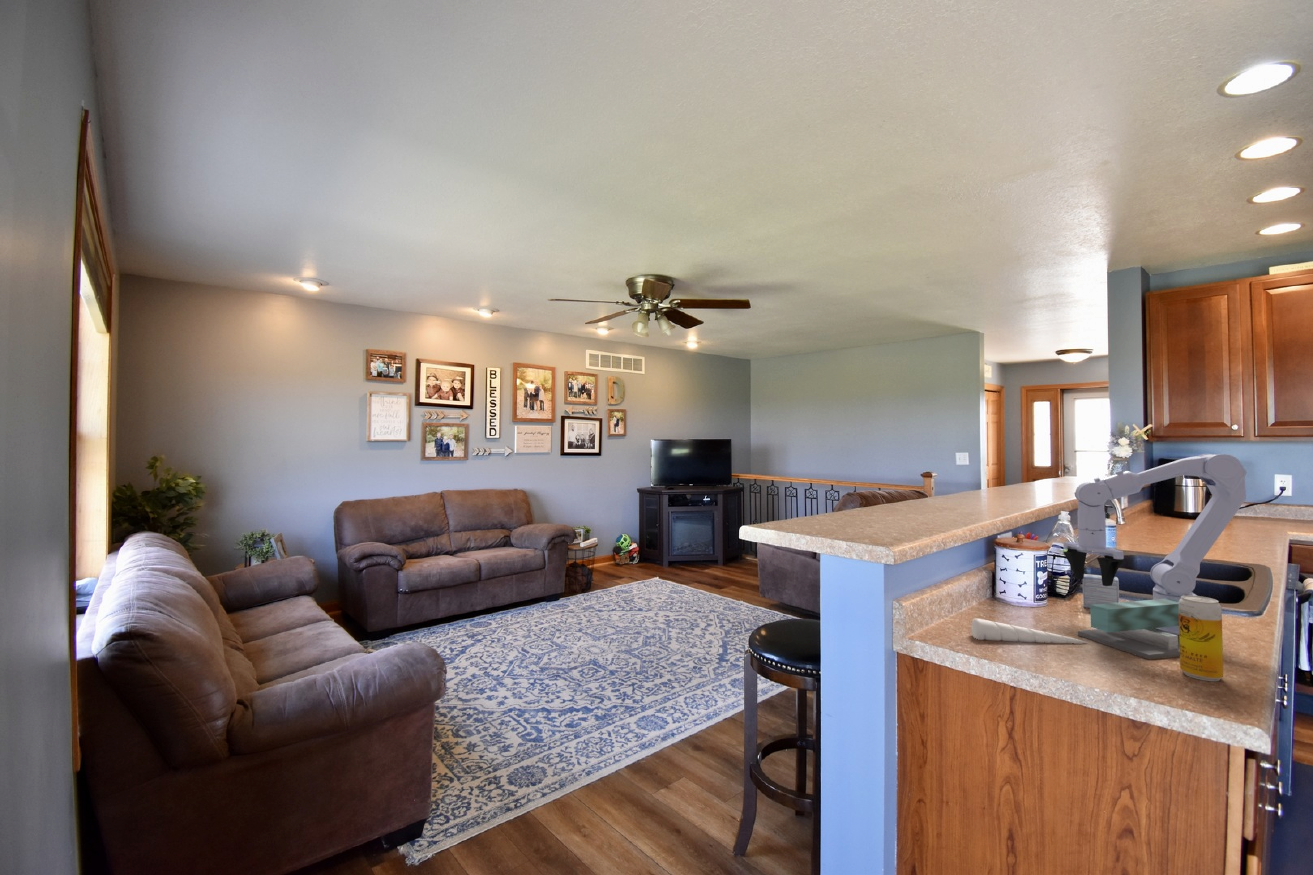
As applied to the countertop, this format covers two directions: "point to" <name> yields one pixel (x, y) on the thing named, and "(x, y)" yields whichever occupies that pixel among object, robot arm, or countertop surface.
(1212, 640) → the beer can
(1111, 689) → the countertop surface
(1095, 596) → the medicine box
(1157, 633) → the ridge stand
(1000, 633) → the unicorn horn
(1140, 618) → the teal wavy bar
